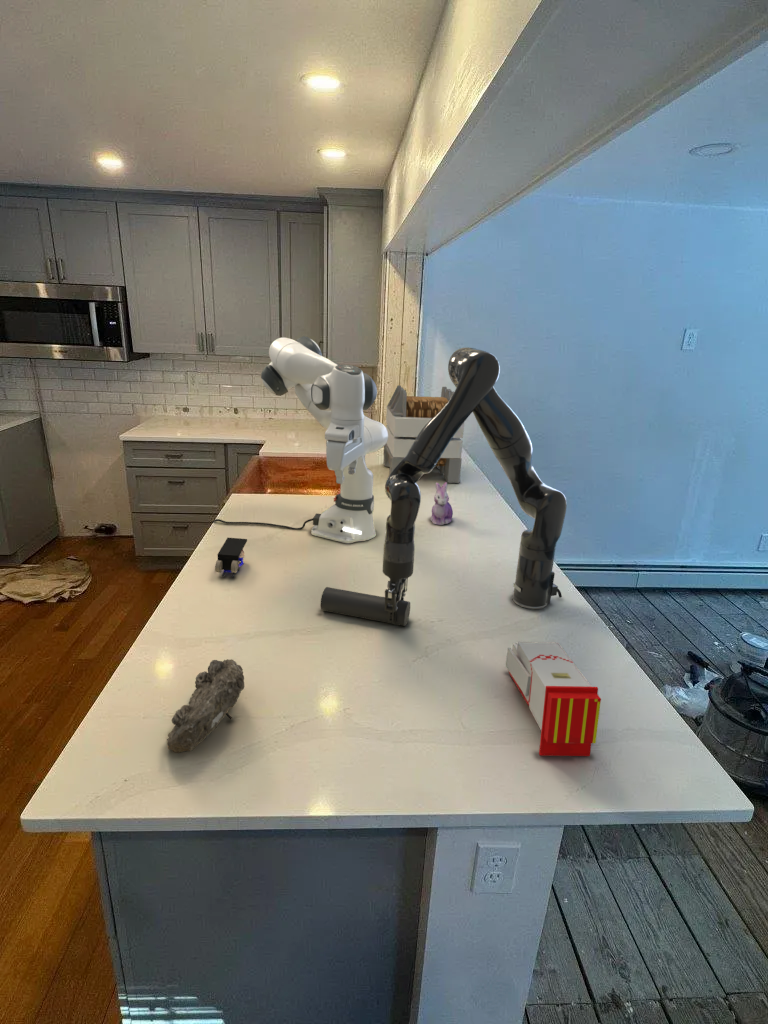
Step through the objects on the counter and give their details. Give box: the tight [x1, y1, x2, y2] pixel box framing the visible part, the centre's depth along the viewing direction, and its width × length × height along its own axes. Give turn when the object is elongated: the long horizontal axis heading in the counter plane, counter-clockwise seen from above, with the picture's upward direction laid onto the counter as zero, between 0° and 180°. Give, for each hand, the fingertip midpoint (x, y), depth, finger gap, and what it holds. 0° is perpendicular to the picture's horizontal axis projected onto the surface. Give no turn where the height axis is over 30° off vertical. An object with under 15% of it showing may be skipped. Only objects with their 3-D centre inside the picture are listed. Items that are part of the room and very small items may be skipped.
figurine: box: [430, 481, 454, 526], centre depth 211 cm, size 9×10×15 cm
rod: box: [320, 586, 411, 627], centre depth 145 cm, size 22×6×6 cm, turn 74°
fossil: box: [166, 658, 245, 754], centre depth 106 cm, size 22×10×15 cm
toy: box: [505, 641, 602, 757], centre depth 113 cm, size 12×13×30 cm
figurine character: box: [214, 537, 248, 578], centre depth 166 cm, size 7×8×15 cm
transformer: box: [383, 384, 465, 484], centre depth 268 cm, size 34×33×41 cm
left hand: (346, 478), depth 155 cm, fingers open, 8 cm apart
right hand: (395, 615), depth 143 cm, fingers closed on rod, 6 cm apart
